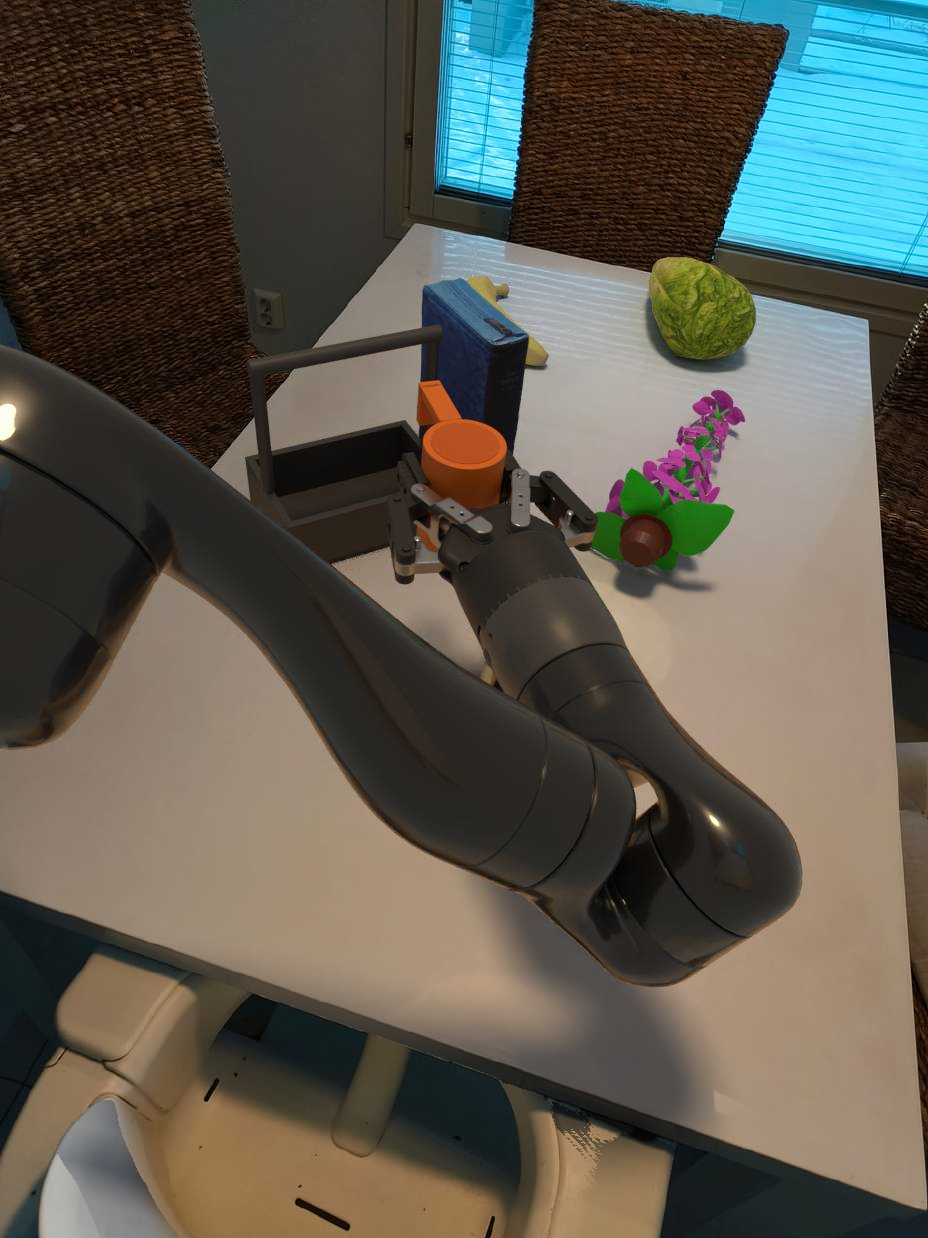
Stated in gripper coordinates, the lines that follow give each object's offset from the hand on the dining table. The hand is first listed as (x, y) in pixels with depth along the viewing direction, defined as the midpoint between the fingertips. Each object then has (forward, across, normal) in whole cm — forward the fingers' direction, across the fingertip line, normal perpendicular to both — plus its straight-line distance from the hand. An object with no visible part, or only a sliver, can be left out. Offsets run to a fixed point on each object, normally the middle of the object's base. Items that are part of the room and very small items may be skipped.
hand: (448, 457), depth 60 cm
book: (+25, -12, +22) cm, 35 cm away
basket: (+21, +2, +22) cm, 30 cm away
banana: (+55, -29, +22) cm, 65 cm away
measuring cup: (0, 0, +6) cm, 6 cm away
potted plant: (+15, -33, +22) cm, 43 cm away
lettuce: (+49, -54, +22) cm, 77 cm away
